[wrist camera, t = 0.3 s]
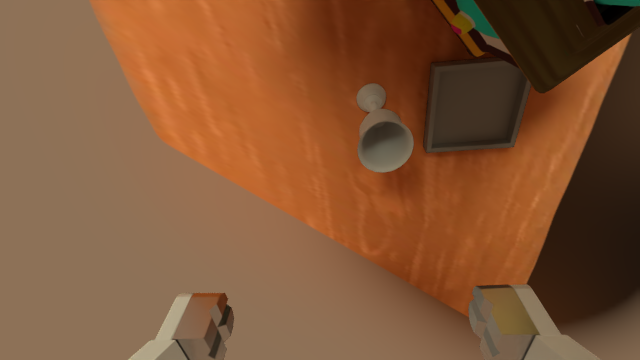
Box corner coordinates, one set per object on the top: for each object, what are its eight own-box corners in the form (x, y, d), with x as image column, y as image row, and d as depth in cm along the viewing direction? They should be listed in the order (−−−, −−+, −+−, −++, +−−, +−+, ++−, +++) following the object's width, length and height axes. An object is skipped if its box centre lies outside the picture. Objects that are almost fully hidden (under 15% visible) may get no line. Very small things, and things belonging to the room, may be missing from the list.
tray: (431, 62, 50) (435, 66, 48) (530, 54, 48) (538, 57, 46) (423, 146, 58) (426, 152, 56) (507, 140, 57) (513, 147, 55)
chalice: (358, 72, 51) (368, 113, 36) (398, 82, 52) (423, 127, 37) (346, 113, 55) (350, 166, 40) (382, 122, 56) (400, 177, 41)
